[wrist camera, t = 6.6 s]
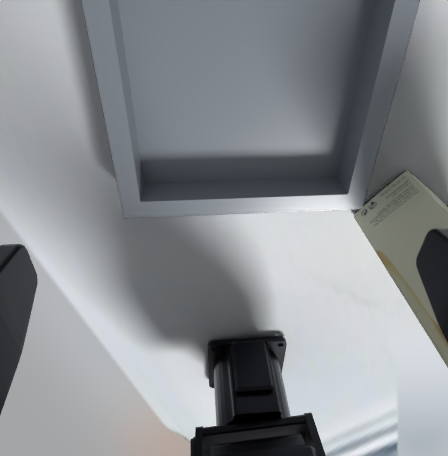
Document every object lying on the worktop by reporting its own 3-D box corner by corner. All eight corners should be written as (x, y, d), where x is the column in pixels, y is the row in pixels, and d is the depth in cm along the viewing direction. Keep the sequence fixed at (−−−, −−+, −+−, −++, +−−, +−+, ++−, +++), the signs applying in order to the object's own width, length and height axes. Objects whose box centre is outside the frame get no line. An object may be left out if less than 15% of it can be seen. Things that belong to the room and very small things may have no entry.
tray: (346, 185, 23) (361, 209, 21) (129, 193, 22) (124, 218, 20) (414, -99, 15) (449, -105, 13) (78, -103, 14) (60, -111, 12)
